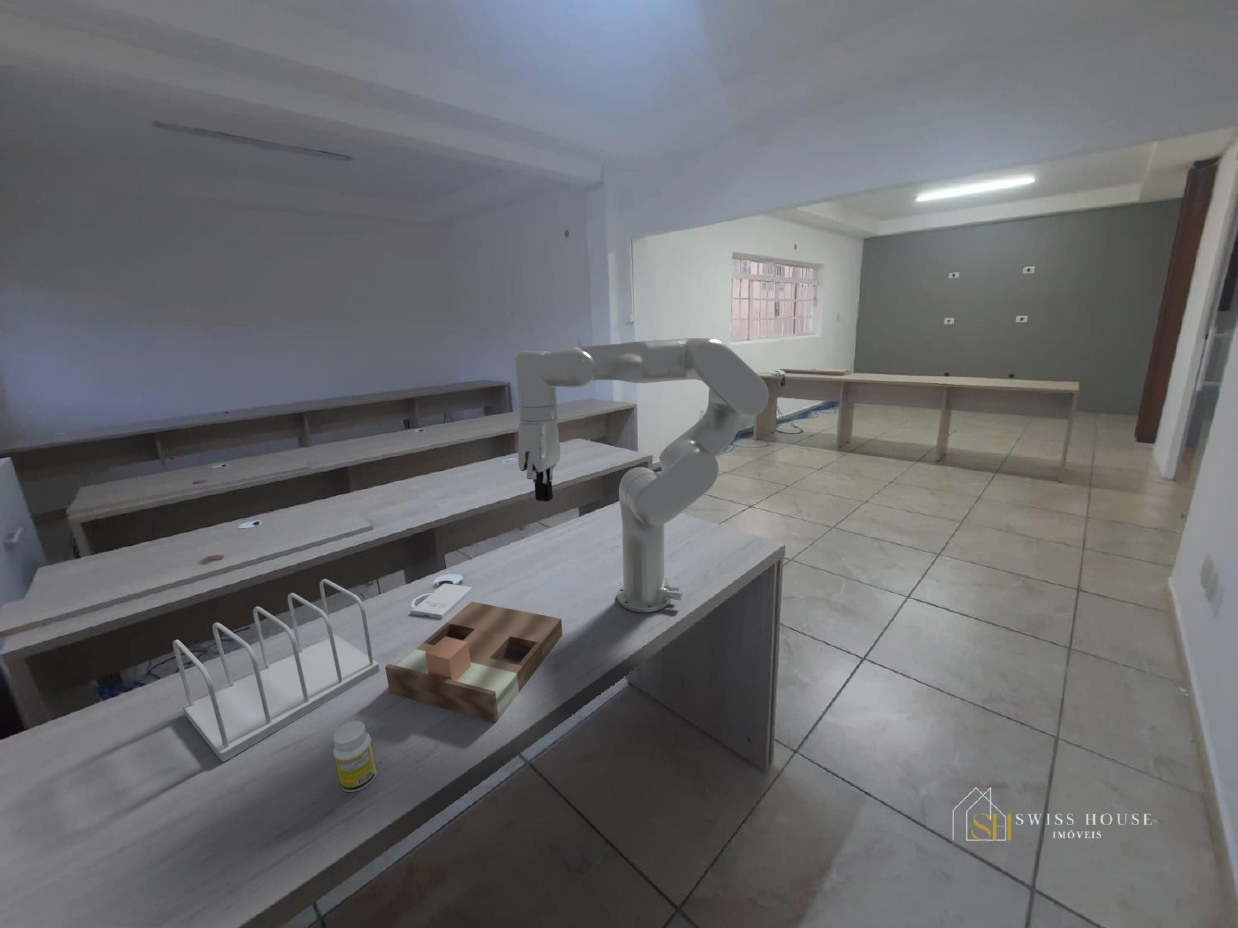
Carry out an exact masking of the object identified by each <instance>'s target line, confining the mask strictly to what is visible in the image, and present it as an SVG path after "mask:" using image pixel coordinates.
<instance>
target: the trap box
mask: <svg viewBox="0 0 1238 928" xmlns="http://www.w3.org/2000/svg"><path fill="white" fill-rule="evenodd" d="M562 623H563V622H562V618H559V617H554V616H549V615H545V614H538V613H535V612H533V613H532V612H527V611H523V610H518V609H512V608H507V607H503V606H496V605H492V604H488V603H487V604H486V603H482V602H476V601H470V603H469V602H468V604H467V605H466V606H464V608H462V609H461V610H460V611H458V612H457V614H455V615H454V616H453V617H451V618H450V619H449V620H448V621H447V622H446V623H445V624H443V625H442V626H440V628H439V629H437V630H436V632H434V633H433V634H432V635H431V636H429V637H428V638H427V639H425V641H423V642H422V643H421V644H420V645H418V646H417V648H414V650H413V651H411V652H410V653H409V654H408V655H406V657H405V658H404V659H402V660H401V661H400V662H399V663H397V664H396V665H394V664H391V663H388V664H386V665H385V666H384V668H385V669H384V670H385V673H386V674H385V675H386V679H387V680H386V681H387V685H388V690H389V693H390V694H392V695H396V696H400V697H403V698H406V699H409V700H410V699H411V700H413V701H418V702H420V703H424V704H427V705H431V706H434V707H439V708H440V709H446V710H449V711H452V712H456V713H459V714H463V715H467V716H470V717H474V718H477V719H480V720H484V721H487V722H488V721H489V722H491V723H495V724H497V722H498V721H499V719H500V718H501V717H502V715H503V714H504V713H505V712H506V710H507V708H509V706H510V705H511V704H512V702H513V701H514V699H515V698H516V697H517V696H518V694H519V693H520V692H521V690H522V689H523V688H524V686H525V685H526V684H527V682H528V681H529V680H530V678H531V677H532V676H533V675H534V674H535V672H536V671H537V670H538V668H539V667H540V665H542V663H543V662H544V661H545V659H546V658H547V657H548V655H549V654H550V653H551V651H552V650H553V648H554V647H555V646H556V644H557V643H558V642H559V641H560V640H561V638H562V637H563V625H562ZM445 636H446V637H450V638H454V639H458V640H462V641H466V642H468V645H469V653H470V661H471V667H470V668H469V669H468V670H467V671H466V672H465V673H464V674H463V675H462V676H461V677H460V678H459V679H458V680H457V681H453V680H449V679H445V678H442V677H438V676H434V675H430V674H429V673H428V667H427V660H426V652H427V651H428V650H430V649H431V648H432V647H433V646H434V645H436V644H437V643H438V642H439V641H440V640H442V639H443V638H444V637H445Z"/></svg>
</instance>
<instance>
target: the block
mask: <svg viewBox="0 0 1238 928" xmlns="http://www.w3.org/2000/svg"><path fill="white" fill-rule="evenodd" d="M426 660H427V667H428V673H429V674H430V675H434V676H438V677H442V678H445V679H449V680H453V681H457V680H458V679H459V678H460V677H461V676H462V675H463V674H464V673H465V672H466V671H467V670H468V669H469V668H470V667H471V661H470V653H469V645H468V642H466V641H462V640H458V639H454V638H450V637H446V636H445V637H444V638H443V639H442V640H440V641H439V642H438V643H437V644H436V645H434V646H433V647H432V648H431V649H430V650H428V651H427V652H426Z"/></svg>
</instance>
